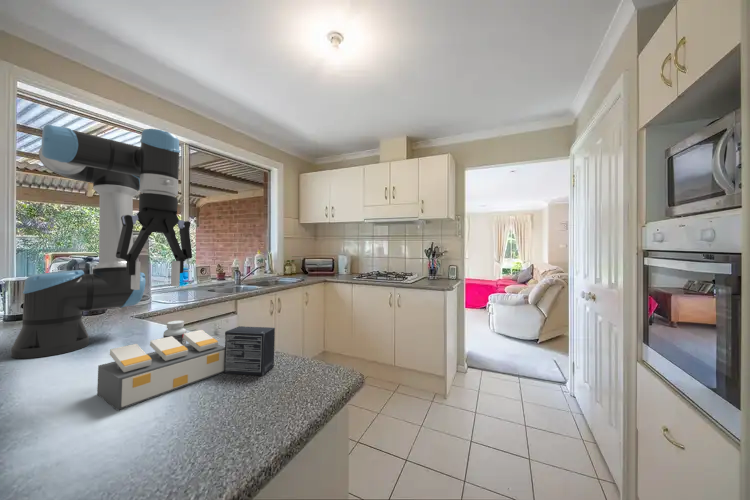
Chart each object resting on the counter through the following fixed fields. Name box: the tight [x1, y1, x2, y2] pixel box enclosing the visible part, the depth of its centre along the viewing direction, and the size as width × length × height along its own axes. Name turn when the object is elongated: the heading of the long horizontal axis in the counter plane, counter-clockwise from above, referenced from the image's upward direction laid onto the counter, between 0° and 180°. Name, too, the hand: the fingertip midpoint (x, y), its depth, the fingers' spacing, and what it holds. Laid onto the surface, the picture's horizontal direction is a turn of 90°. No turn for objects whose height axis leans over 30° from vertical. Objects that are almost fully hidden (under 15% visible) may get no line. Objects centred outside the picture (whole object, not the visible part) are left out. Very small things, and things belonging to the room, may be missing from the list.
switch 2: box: [149, 336, 188, 361], centre depth 64 cm, size 8×4×1 cm, turn 59°
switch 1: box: [109, 343, 152, 372], centre depth 58 cm, size 8×4×1 cm, turn 59°
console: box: [96, 343, 225, 411], centre depth 64 cm, size 11×21×7 cm, turn 149°
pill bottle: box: [162, 320, 187, 345], centre depth 80 cm, size 5×5×10 cm
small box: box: [223, 325, 276, 377], centre depth 72 cm, size 11×6×10 cm, turn 84°
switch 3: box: [183, 329, 219, 352], centre depth 70 cm, size 8×4×1 cm, turn 59°
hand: (156, 287), depth 68 cm, fingers open, 8 cm apart
